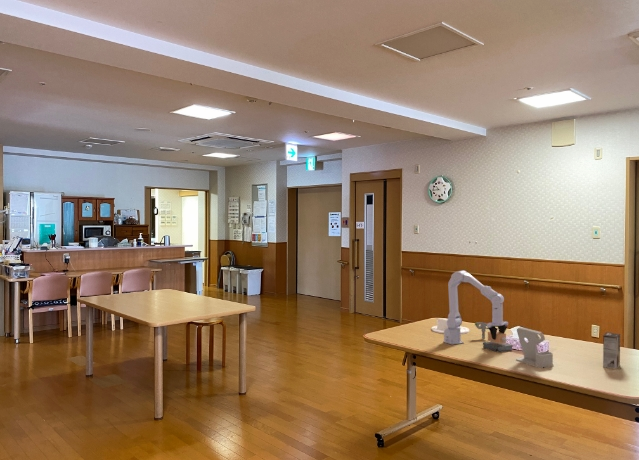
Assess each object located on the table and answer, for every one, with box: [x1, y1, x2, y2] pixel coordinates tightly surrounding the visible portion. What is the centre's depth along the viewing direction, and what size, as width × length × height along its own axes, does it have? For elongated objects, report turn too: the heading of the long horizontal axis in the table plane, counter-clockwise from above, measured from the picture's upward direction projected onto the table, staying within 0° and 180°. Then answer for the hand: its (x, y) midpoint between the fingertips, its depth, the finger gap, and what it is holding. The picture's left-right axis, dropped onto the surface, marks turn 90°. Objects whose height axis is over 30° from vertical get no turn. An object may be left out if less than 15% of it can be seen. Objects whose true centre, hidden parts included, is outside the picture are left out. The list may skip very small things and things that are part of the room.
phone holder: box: [515, 326, 555, 369], centre depth 260 cm, size 17×10×18 cm, turn 25°
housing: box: [487, 331, 507, 344], centre depth 288 cm, size 10×5×5 cm, turn 25°
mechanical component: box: [474, 321, 489, 340], centre depth 313 cm, size 3×10×10 cm, turn 89°
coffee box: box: [602, 331, 621, 370], centre depth 253 cm, size 9×6×16 cm
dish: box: [431, 317, 470, 335], centre depth 337 cm, size 25×25×11 cm
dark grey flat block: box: [482, 341, 514, 353], centre depth 288 cm, size 11×12×3 cm
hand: (497, 338), depth 288 cm, fingers closed on housing, 5 cm apart
